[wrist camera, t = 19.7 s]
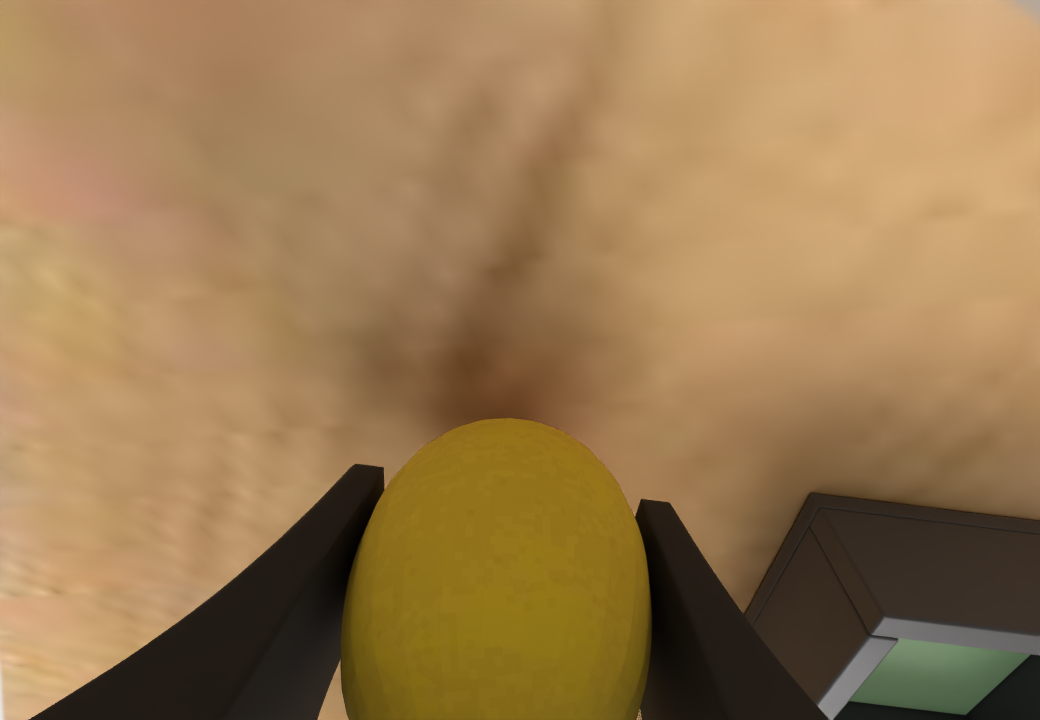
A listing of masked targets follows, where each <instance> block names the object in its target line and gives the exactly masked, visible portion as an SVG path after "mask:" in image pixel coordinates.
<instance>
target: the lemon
mask: <svg viewBox="0 0 1040 720" xmlns="http://www.w3.org/2000/svg"><path fill="white" fill-rule="evenodd" d="M651 640H652V607H651V593H650V584H649V575H648V567H647V559H646V553H645V549H644V544H643V540H642V536H641V533H640V530H639V527H638V524H637V522H636V519H635V517H634V515H633V512H632V510H631V508H630V506H629V504H628V502H627V500H626V498H625V496H624V494H623V492H622V490H621V488H620V487H619V485H618V483H617V481H616V480H615V478H614V476H613V475H612V474H611V473H610V471H609V470H608V469H607V468H606V467H605V466H604V465H603V464H602V462H601V461H600V460H599V459H598V458H597V457H596V456H595V455H594V454H593V453H592V452H591V451H590V450H589V449H588V448H587V447H585V446H584V445H583V444H582V443H580V442H578V441H577V440H575V439H574V438H572V437H570V436H569V435H567V434H566V433H564V432H562V431H561V430H558V429H555V428H552V427H550V426H547V425H544V424H541V423H538V422H535V421H530V420H522V419H515V418H499V419H485V420H479V421H476V422H473V423H469V424H466V425H463V426H459V427H456V428H454V429H452V430H450V431H449V432H447V433H445V434H443V435H442V436H440V437H438V438H437V439H435V440H433V441H431V442H430V443H428V444H427V445H425V446H424V447H423V448H422V449H420V450H419V451H418V452H417V453H416V454H415V455H414V456H413V457H412V458H411V459H410V460H409V462H408V463H407V464H406V465H405V466H404V467H403V468H402V469H401V470H400V471H399V472H398V473H397V474H396V476H395V477H394V478H393V479H392V480H391V482H390V483H389V485H388V486H387V487H386V489H385V490H384V492H383V494H382V495H381V497H380V499H379V501H378V503H377V504H376V507H375V509H374V511H373V513H372V516H371V518H370V520H369V522H368V525H367V527H366V529H365V531H364V534H363V536H362V538H361V540H360V543H359V545H358V548H357V551H356V554H355V557H354V560H353V564H352V568H351V571H350V575H349V579H348V585H347V590H346V596H345V602H344V610H343V618H342V633H341V683H342V693H343V698H344V703H345V707H346V712H347V716H348V718H349V720H636V718H637V715H638V712H639V709H640V706H641V702H642V698H643V694H644V690H645V687H646V682H647V675H648V669H649V662H650V652H651Z"/></svg>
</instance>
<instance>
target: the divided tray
mask: <svg viewBox="0 0 1040 720" xmlns="http://www.w3.org/2000/svg"><path fill="white" fill-rule="evenodd" d="M745 617H746V619H747V620H748V621H749V623H750V624H751V625H752V627H753V628H754V629H755V631H756V632H757V633H758V635H759V636H760V637H761V639H762V640H763V641H764V643H765V644H766V645H767V646H768V648H769V649H770V650H771V651H772V653H773V654H774V655H775V657H776V658H777V659H778V660H779V662H780V663H781V664H782V665H783V666H784V668H785V669H786V670H787V671H788V673H789V674H790V675H791V676H792V677H793V678H794V680H795V681H796V682H797V683H798V684H799V685H800V687H801V688H802V689H803V690H804V691H805V692H806V694H807V695H808V696H809V697H810V698H811V699H812V701H813V702H814V703H815V704H816V705H817V706H818V707H819V708H820V709H821V711H822V712H823V713H824V714H825V715H826V716H827V717H828V718H829V719H830V720H1040V521H1033V520H1025V519H1017V518H1008V517H1000V516H992V515H984V514H976V513H968V512H960V511H952V510H944V509H935V508H927V507H919V506H911V505H903V504H895V503H887V502H879V501H870V500H862V499H854V498H846V497H838V496H830V495H822V494H814V493H812V494H810V496H809V498H808V500H807V502H806V504H805V505H804V507H803V509H802V511H801V513H800V515H799V516H798V518H797V520H796V522H795V524H794V526H793V527H792V529H791V531H790V533H789V535H788V537H787V538H786V540H785V542H784V544H783V546H782V548H781V549H780V551H779V553H778V555H777V557H776V559H775V561H774V562H773V564H772V566H771V568H770V570H769V572H768V573H767V575H766V577H765V579H764V581H763V583H762V584H761V586H760V588H759V590H758V592H757V594H756V595H755V597H754V599H753V601H752V603H751V605H750V607H749V608H748V610H747V612H746V614H745Z"/></svg>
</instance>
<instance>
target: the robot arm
mask: <svg viewBox="0 0 1040 720" xmlns="http://www.w3.org/2000/svg"><path fill="white" fill-rule="evenodd" d="M383 492H384V467H377V466H369V465H361V464H355V465H353V466H352V467H350V468H349V470H348V471H347V472H346V473H345V474H344V475H343V476H342V477H341V478H340V479H339V480H338V481H337V482H336V483H335V484H334V486H333V487H332V488H331V489H330V490H329V491H328V492H327V493H326V494H325V495H324V496H323V497H322V498H321V499H320V500H319V501H318V502H317V503H316V504H315V505H314V506H313V507H312V508H311V509H310V510H309V511H308V512H307V513H306V514H305V515H304V516H303V517H302V518H301V519H300V520H299V521H298V522H297V523H296V524H294V525H293V526H292V527H291V528H290V529H289V530H288V531H287V532H286V533H285V534H284V535H283V536H282V537H281V538H280V539H279V540H278V541H277V542H275V543H274V544H273V545H272V546H271V547H270V548H269V549H268V550H266V551H265V552H264V553H263V554H262V555H261V556H260V557H258V558H257V559H256V560H255V561H254V562H253V563H252V564H250V565H249V566H248V567H247V568H246V569H245V570H244V571H242V572H241V573H240V574H239V575H238V576H237V577H235V578H234V579H233V580H232V581H231V582H229V583H228V584H227V585H226V586H224V587H223V588H222V589H221V590H219V591H218V592H217V593H216V594H214V595H213V596H212V597H211V598H209V599H208V600H207V601H205V602H204V603H203V604H202V605H200V606H199V607H198V608H196V609H195V610H194V611H192V612H191V613H190V614H188V615H187V616H186V617H184V618H183V619H182V620H180V621H179V622H178V623H176V624H175V625H173V626H172V627H171V628H169V629H168V630H166V631H165V632H164V633H162V634H161V635H159V636H158V637H156V638H155V639H154V640H152V641H151V642H149V643H148V644H147V645H145V646H144V647H142V648H141V649H139V650H138V651H137V652H135V653H134V654H132V655H131V656H129V657H128V658H126V659H125V660H123V661H122V662H120V663H119V664H117V665H116V666H114V667H113V668H111V669H109V670H108V671H106V672H105V673H103V674H101V675H100V676H98V677H97V678H95V679H94V680H92V681H90V682H89V683H87V684H86V685H84V686H82V687H81V688H79V689H78V690H76V691H74V692H73V693H71V694H70V695H68V696H66V697H65V698H63V699H62V700H60V701H58V702H57V703H55V704H54V705H52V706H50V707H49V708H47V709H46V710H44V711H42V712H41V713H39V714H37V715H36V716H34V717H32V718H31V719H29V720H317V719H318V716H319V712H320V710H321V707H322V704H323V701H324V699H325V696H326V693H327V691H328V688H329V685H330V683H331V680H332V678H333V675H334V673H335V671H336V668H337V666H338V663H339V661H340V658H341V633H342V618H343V610H344V602H345V596H346V590H347V585H348V579H349V575H350V571H351V568H352V564H353V560H354V557H355V554H356V551H357V548H358V545H359V543H360V540H361V538H362V536H363V534H364V531H365V529H366V527H367V525H368V522H369V520H370V518H371V516H372V513H373V511H374V509H375V507H376V504H377V503H378V501H379V499H380V497H381V495H382V494H383ZM635 519H636V522H637V524H638V527H639V530H640V533H641V536H642V540H643V544H644V549H645V553H646V559H647V567H648V575H649V584H650V593H651V607H652V640H651V652H650V662H649V669H648V675H647V682H646V687H645V690H644V694H643V698H642V702H641V706H640V710H641V716H642V720H830V719H829V718H828V717H827V716H826V715H825V714H824V713H823V712H822V711H821V709H820V708H819V707H818V706H817V705H816V704H815V703H814V702H813V701H812V699H811V698H810V697H809V696H808V695H807V694H806V692H805V691H804V690H803V689H802V688H801V687H800V685H799V684H798V683H797V682H796V681H795V680H794V678H793V677H792V676H791V675H790V674H789V673H788V671H787V670H786V669H785V668H784V666H783V665H782V664H781V663H780V662H779V660H778V659H777V658H776V657H775V655H774V654H773V653H772V651H771V650H770V649H769V648H768V646H767V645H766V644H765V643H764V641H763V640H762V639H761V637H760V636H759V635H758V633H757V632H756V631H755V629H754V628H753V627H752V625H751V624H750V623H749V621H748V620H747V619H746V617H745V616H744V615H743V613H742V612H741V611H740V609H739V608H738V606H737V605H736V604H735V602H734V601H733V599H732V598H731V596H730V595H729V594H728V592H727V591H726V589H725V588H724V586H723V585H722V583H721V582H720V580H719V579H718V578H717V576H716V575H715V573H714V572H713V570H712V569H711V567H710V566H709V564H708V563H707V561H706V560H705V558H704V556H703V555H702V553H701V552H700V550H699V549H698V547H697V546H696V544H695V542H694V541H693V539H692V538H691V536H690V534H689V533H688V531H687V530H686V528H685V526H684V525H683V523H682V521H681V520H680V518H679V517H678V515H677V513H676V512H675V510H674V508H673V507H672V506H671V504H670V503H669V502H661V501H653V500H645V499H641V500H640V504H639V507H638V510H637V513H636V516H635Z"/></svg>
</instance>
